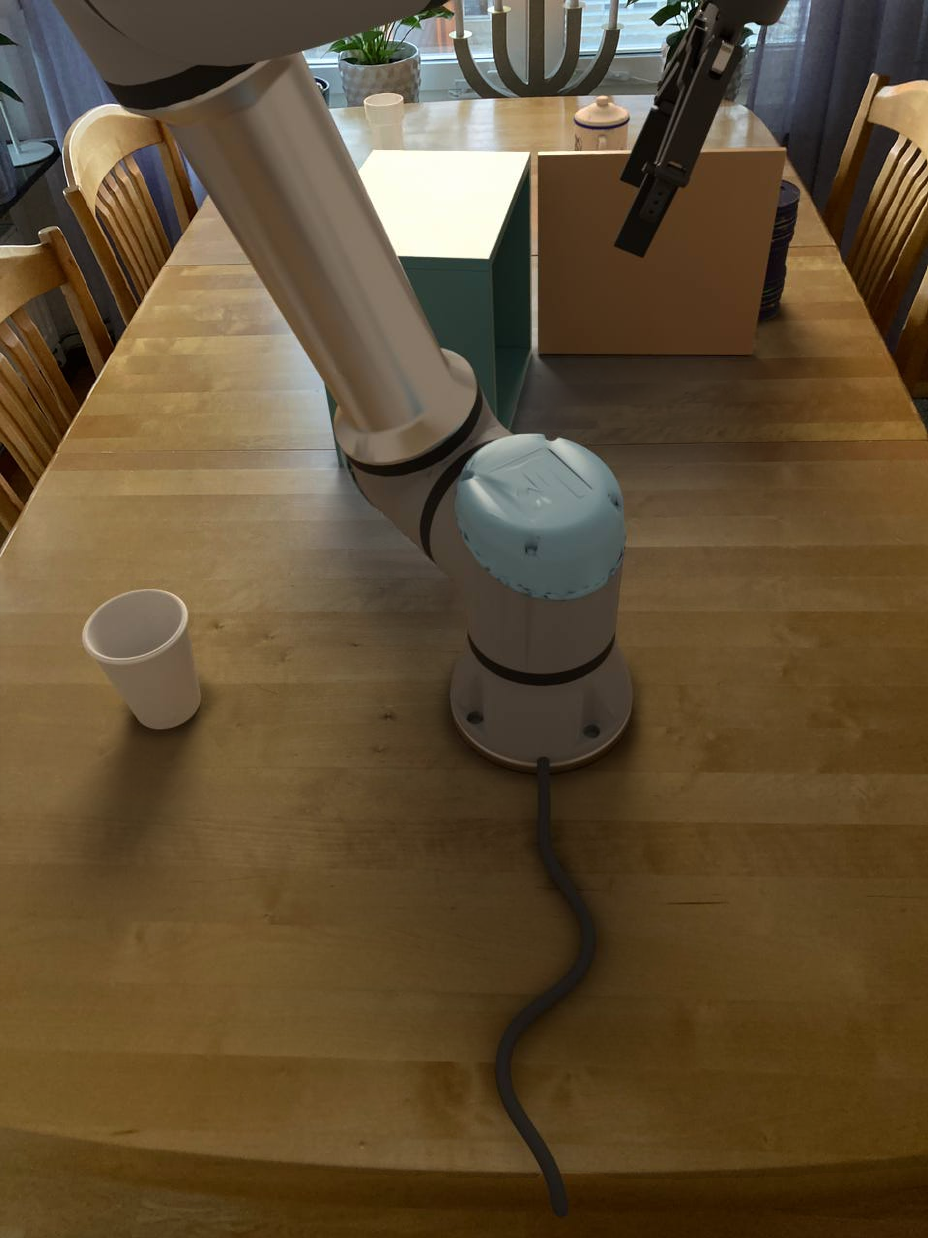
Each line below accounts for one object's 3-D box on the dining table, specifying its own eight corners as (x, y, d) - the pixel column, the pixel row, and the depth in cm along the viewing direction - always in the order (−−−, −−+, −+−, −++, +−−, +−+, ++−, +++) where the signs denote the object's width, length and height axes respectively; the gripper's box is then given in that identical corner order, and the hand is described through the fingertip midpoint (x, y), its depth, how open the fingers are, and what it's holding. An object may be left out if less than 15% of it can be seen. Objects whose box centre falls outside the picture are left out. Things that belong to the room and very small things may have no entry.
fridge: (532, 352, 123) (531, 151, 106) (497, 476, 105) (489, 258, 88) (395, 345, 126) (372, 149, 109) (338, 465, 108) (300, 252, 91)
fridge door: (540, 327, 127) (540, 132, 110) (746, 327, 124) (779, 127, 107) (537, 353, 122) (537, 154, 105) (751, 354, 119) (786, 150, 102)
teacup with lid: (572, 162, 168) (573, 89, 159) (625, 160, 167) (629, 86, 159) (573, 189, 159) (575, 113, 151) (629, 188, 158) (634, 111, 150)
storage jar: (723, 329, 125) (741, 212, 114) (691, 295, 131) (704, 182, 121) (794, 315, 126) (817, 199, 115) (758, 282, 133) (777, 170, 122)
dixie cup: (114, 685, 86) (76, 604, 79) (207, 657, 88) (178, 576, 81) (125, 754, 81) (85, 674, 74) (224, 723, 82) (194, 642, 75)
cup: (366, 172, 169) (358, 105, 162) (379, 159, 174) (372, 92, 166) (401, 175, 168) (395, 106, 160) (414, 161, 172) (408, 93, 164)
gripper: (823, 16, 62) (669, 299, 77) (790, -72, 79) (669, 174, 95) (718, -31, 61) (582, 265, 76) (707, -110, 78) (598, 145, 94)
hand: (630, 215), depth 86 cm, fingers open, 13 cm apart
